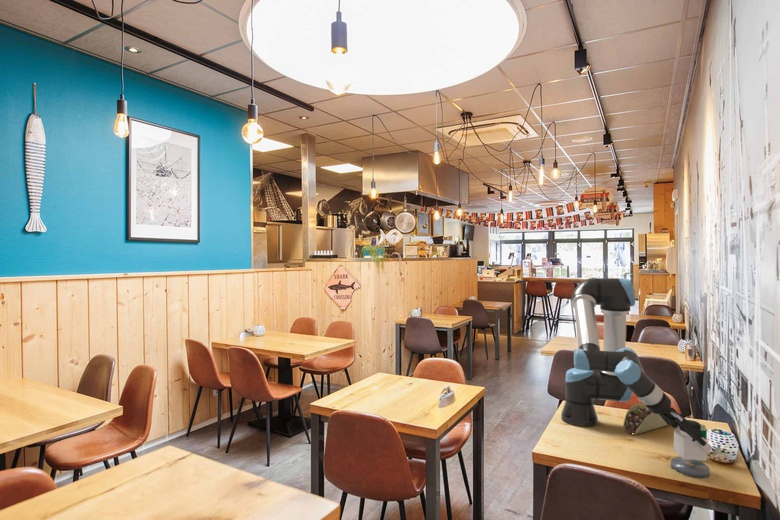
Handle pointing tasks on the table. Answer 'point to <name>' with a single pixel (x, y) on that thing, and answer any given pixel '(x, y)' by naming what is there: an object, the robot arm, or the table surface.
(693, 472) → the disc
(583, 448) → the table surface
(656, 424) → the taco
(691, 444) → the medicine bottle
